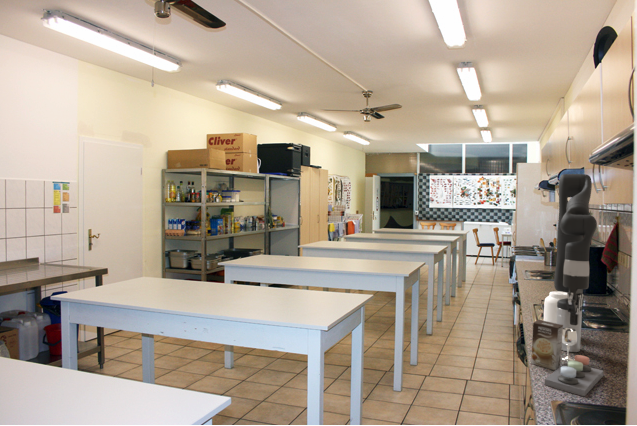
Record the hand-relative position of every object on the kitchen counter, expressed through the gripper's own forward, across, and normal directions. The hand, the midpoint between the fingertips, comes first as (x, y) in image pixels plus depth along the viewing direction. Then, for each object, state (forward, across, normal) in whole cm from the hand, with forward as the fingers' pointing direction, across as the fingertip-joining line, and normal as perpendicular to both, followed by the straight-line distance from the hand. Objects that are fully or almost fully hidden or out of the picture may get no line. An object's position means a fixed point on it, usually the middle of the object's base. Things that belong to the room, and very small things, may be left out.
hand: (573, 324), depth 152 cm
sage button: (+16, -6, -1) cm, 18 cm away
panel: (+21, -6, -1) cm, 22 cm away
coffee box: (+21, -14, -12) cm, 28 cm away
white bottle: (+19, -60, -21) cm, 66 cm away
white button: (+17, +2, -1) cm, 17 cm away
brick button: (+16, -14, 0) cm, 22 cm away
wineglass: (+20, -27, -8) cm, 35 cm away
